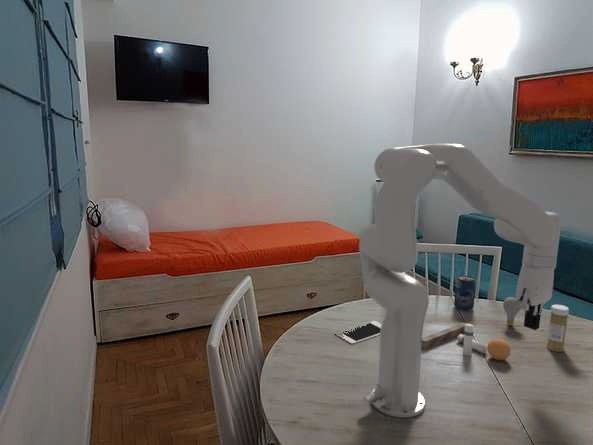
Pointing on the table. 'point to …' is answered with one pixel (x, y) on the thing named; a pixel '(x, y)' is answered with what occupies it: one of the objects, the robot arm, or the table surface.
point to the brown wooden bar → (443, 336)
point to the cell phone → (363, 332)
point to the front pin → (473, 344)
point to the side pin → (468, 339)
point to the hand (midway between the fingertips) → (531, 327)
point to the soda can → (464, 293)
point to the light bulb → (511, 309)
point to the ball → (498, 349)
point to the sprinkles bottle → (557, 328)
